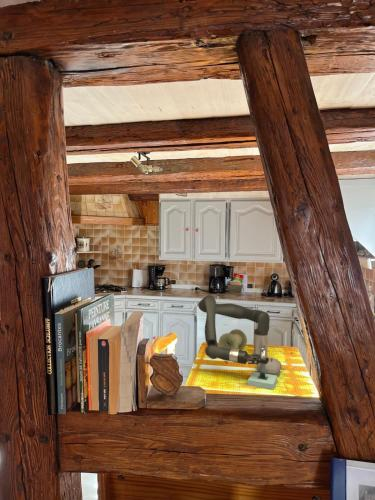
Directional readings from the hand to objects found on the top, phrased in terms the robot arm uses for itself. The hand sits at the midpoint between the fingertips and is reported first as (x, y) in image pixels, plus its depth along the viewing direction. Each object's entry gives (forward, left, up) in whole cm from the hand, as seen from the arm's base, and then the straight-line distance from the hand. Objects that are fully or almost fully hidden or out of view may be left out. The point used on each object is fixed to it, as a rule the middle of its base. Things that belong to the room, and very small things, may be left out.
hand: (268, 361), depth 190 cm
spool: (-49, -35, -13) cm, 62 cm away
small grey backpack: (-18, -3, -13) cm, 23 cm away
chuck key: (0, -3, -10) cm, 10 cm away
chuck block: (0, -3, -13) cm, 13 cm away
